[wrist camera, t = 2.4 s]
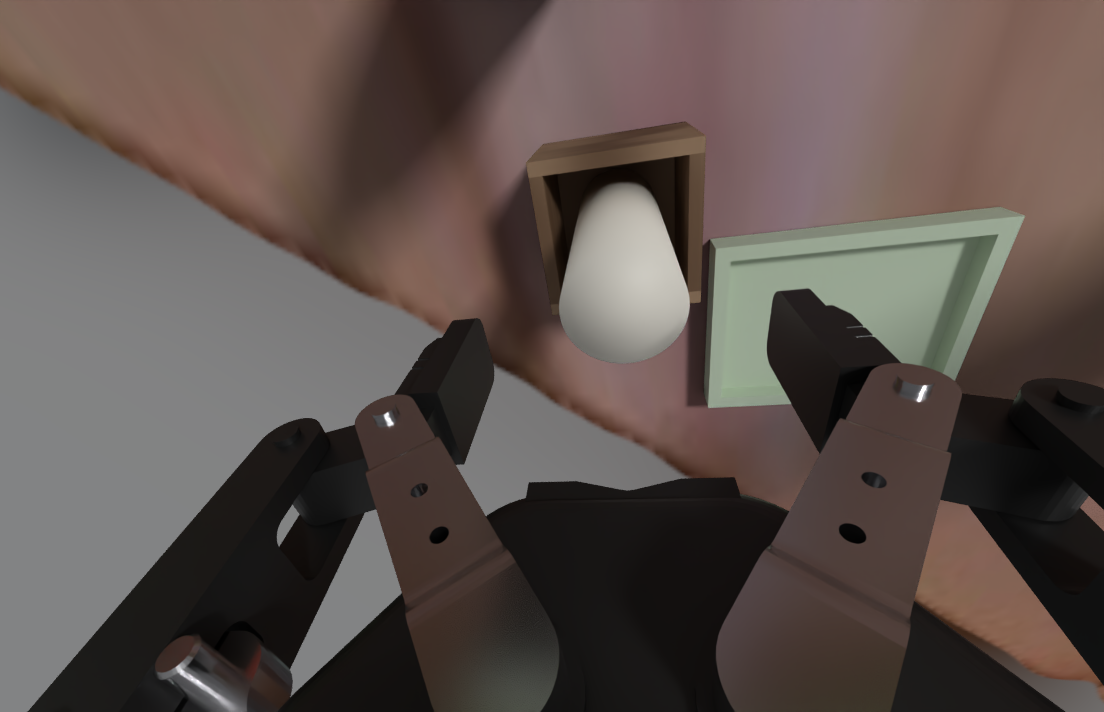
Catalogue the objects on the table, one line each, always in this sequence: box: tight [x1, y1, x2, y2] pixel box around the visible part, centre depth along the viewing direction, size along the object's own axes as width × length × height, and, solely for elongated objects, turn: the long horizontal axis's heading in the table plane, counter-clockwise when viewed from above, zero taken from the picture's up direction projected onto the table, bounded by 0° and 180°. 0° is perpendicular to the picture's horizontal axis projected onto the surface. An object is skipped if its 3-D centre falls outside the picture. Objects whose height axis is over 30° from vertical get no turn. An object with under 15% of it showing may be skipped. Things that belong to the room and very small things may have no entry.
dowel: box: [559, 169, 690, 363], centre depth 18 cm, size 4×4×12 cm
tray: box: [704, 207, 1025, 408], centre depth 25 cm, size 14×11×2 cm
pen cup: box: [526, 122, 706, 315], centre depth 22 cm, size 7×7×6 cm
